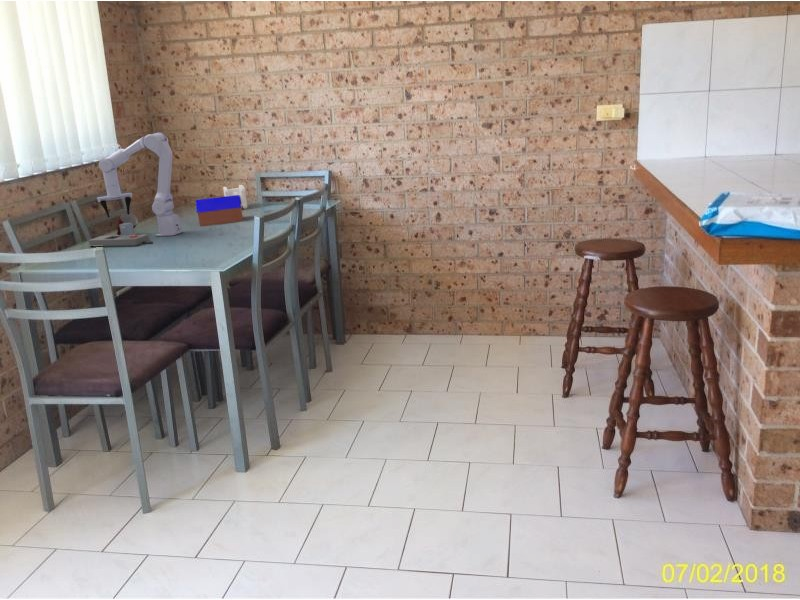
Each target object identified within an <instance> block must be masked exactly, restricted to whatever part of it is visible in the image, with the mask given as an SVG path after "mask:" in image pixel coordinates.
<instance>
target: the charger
mask: <svg viewBox="0 0 800 600" xmlns="http://www.w3.org/2000/svg"><path fill="white" fill-rule="evenodd" d="M119 226H120V231H121V234H120V235H136V233H135V228H133V223H123V224H120V225H119Z"/></svg>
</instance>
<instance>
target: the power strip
mask: <svg viewBox="0 0 800 600" xmlns="http://www.w3.org/2000/svg"><path fill="white" fill-rule="evenodd" d="M88 243H89V244H88V245H89V246H90V245H92V246H93V245H103V246H105V247H104V248H106V246H122V247H138V246H141V245H143V244H144V245H145V244H147V245H148V244H153V243H154V242H153V240H150V236H149V234H148V233H147V234H135V235H121V234H120V235H117V234H114V235H112V234H111V235H101V236H98V237H95V238H92V239H89V240H88Z"/></svg>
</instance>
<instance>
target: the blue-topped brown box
mask: <svg viewBox="0 0 800 600" xmlns="http://www.w3.org/2000/svg"><path fill="white" fill-rule="evenodd" d="M195 203H196V204H195V205H196V213H197V216H198V221H199V223H198V224H199V227H204V226H214V225H221V224H228V223H229V224H230V223H235V222H243V217H244V215H243V210H242V206H241V200H240V195H235V196H226V197H224V196H219V197H212V198H211V197H210V198H201V199H196V200H195Z"/></svg>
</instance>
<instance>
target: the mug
mask: <svg viewBox="0 0 800 600" xmlns="http://www.w3.org/2000/svg"><path fill="white" fill-rule="evenodd" d="M123 223H133V228H134V229H135V228H136V227H137V225H138V223H139V219H138V217H137V215H135V213H133V212H130V211H129V215H128V214H127V211H122V212H121V213H120V215H119V217H118V219H117V222H116V231H117V232H116V235H121V231H120V226H119V225H120V224H123Z"/></svg>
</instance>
